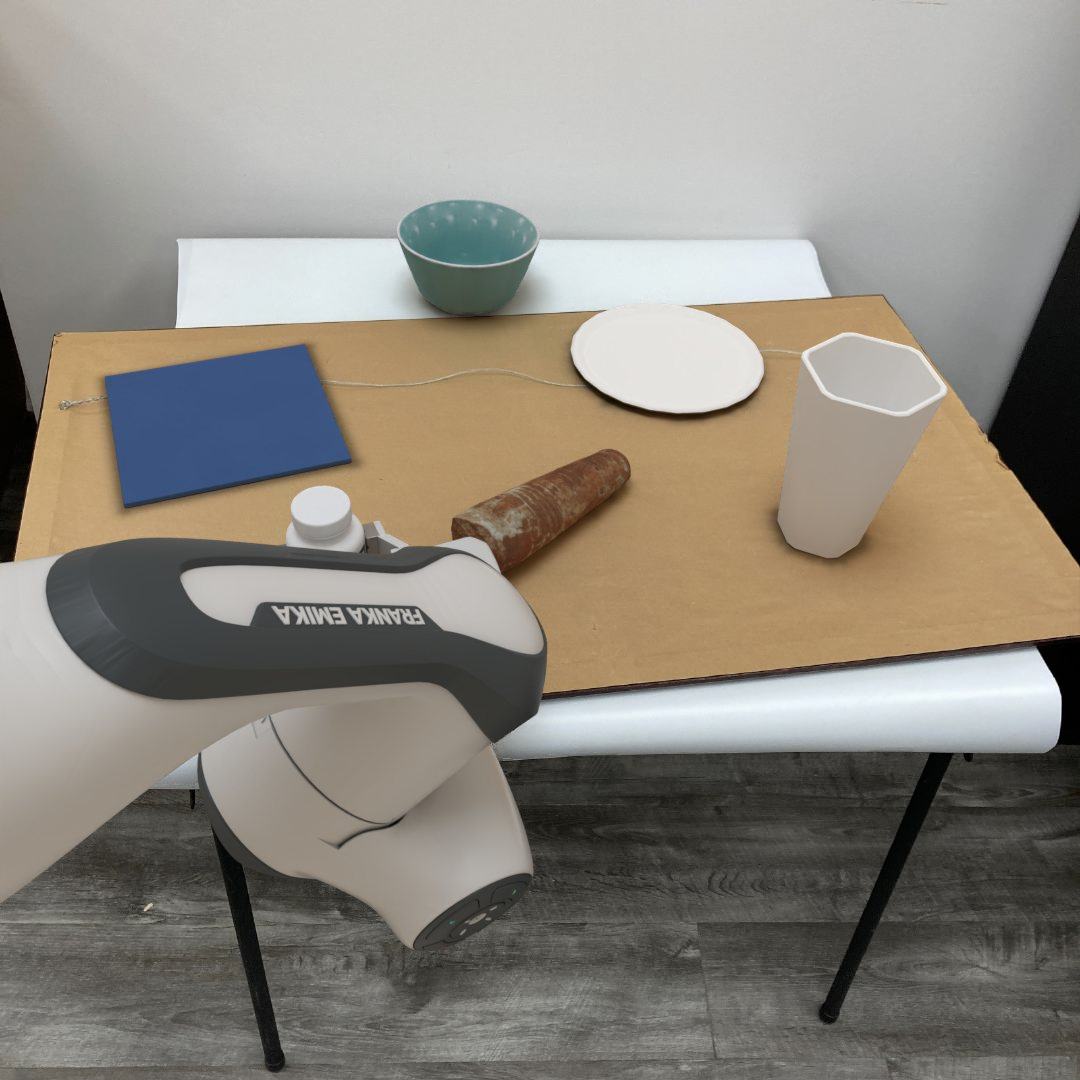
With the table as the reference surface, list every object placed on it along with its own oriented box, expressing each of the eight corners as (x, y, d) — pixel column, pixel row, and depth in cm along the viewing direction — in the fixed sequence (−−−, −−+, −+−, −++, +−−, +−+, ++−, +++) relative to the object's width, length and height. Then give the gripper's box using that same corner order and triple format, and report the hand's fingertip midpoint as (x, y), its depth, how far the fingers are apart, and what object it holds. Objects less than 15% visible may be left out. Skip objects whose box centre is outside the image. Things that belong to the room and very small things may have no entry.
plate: (751, 438, 97) (754, 428, 96) (548, 397, 100) (549, 387, 99) (771, 330, 111) (773, 321, 111) (593, 297, 115) (594, 288, 114)
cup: (888, 513, 90) (953, 356, 78) (872, 586, 83) (941, 426, 71) (769, 478, 92) (814, 321, 81) (744, 547, 86) (789, 386, 74)
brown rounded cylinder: (443, 555, 83) (442, 506, 79) (600, 464, 93) (606, 416, 89) (492, 597, 80) (493, 548, 76) (649, 498, 90) (657, 450, 86)
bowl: (550, 275, 118) (554, 210, 112) (516, 344, 107) (518, 275, 101) (426, 253, 120) (424, 188, 114) (380, 318, 109) (375, 250, 103)
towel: (124, 508, 85) (123, 504, 84) (105, 380, 98) (104, 376, 97) (351, 462, 91) (351, 458, 91) (305, 347, 104) (304, 343, 104)
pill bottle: (296, 578, 74) (279, 480, 67) (368, 572, 75) (359, 474, 68) (297, 633, 70) (279, 535, 63) (373, 625, 71) (363, 528, 64)
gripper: (220, 770, 59) (180, 609, 68) (530, 671, 66) (458, 537, 74) (200, 707, 55) (161, 545, 63) (535, 609, 61) (457, 474, 70)
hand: (324, 540), depth 69 cm, fingers closed on pill bottle, 5 cm apart
